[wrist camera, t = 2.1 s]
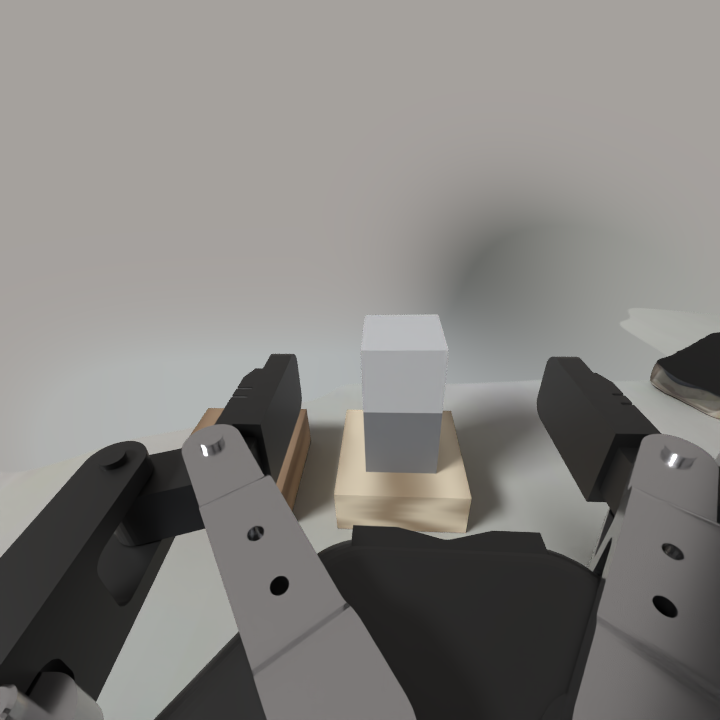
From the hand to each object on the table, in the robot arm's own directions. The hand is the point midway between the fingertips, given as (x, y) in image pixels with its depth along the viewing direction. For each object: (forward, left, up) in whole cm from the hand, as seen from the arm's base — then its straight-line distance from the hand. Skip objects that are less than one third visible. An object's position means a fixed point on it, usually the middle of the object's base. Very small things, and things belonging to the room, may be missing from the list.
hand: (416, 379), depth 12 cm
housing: (0, -13, -16) cm, 20 cm away
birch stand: (0, -13, -20) cm, 23 cm away
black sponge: (-38, -29, -20) cm, 52 cm away
